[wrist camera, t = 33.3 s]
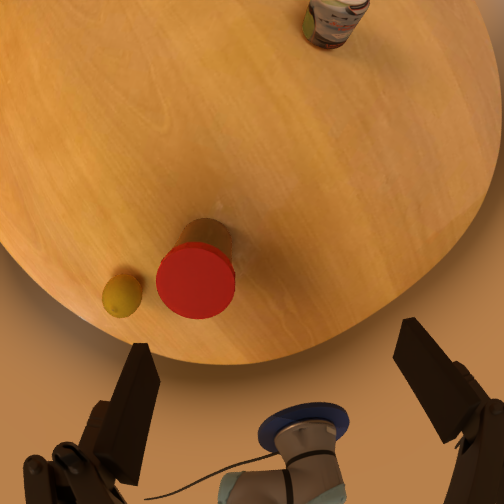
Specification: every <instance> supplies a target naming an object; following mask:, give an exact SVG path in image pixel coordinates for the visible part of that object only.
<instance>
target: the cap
mask: <svg viewBox="0 0 504 504" xmlns="http://www.w3.org/2000/svg"><path fill="white" fill-rule="evenodd" d="M156 286H157V291H158V294H159V296H160V298H161V299H162V301H163V302H164V304H165V305H166V306H167V307H168V308H169V309H171V310H172V311H173V312H175V313H177V314H178V315H181V316H183V317H186V318H191V319H206V318H210V317H213V316H216V315H217V314H219V313H221V312H222V311H223V310H224V309H226V308H227V306H228V305H229V304H230V302H231V301H232V298H233V296H234V292H235V272H234V269H233V266H232V264H231V262H230V259H228V257H227V256H226V255H225V254H224V253H223V252H222V251H220V250H219V249H218V248H216V247H214V246H212V245H210V244H207V243H204V242H203V243H202V242H187V243H184V244H181V245H178V246H176V247H175V248H174V247H173V249H172V250H171V251H170V252H168V254H167V255H166V256H165V258H163V259H162V261H161V265H160V266H159V269H158V271H157V275H156Z"/></svg>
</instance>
